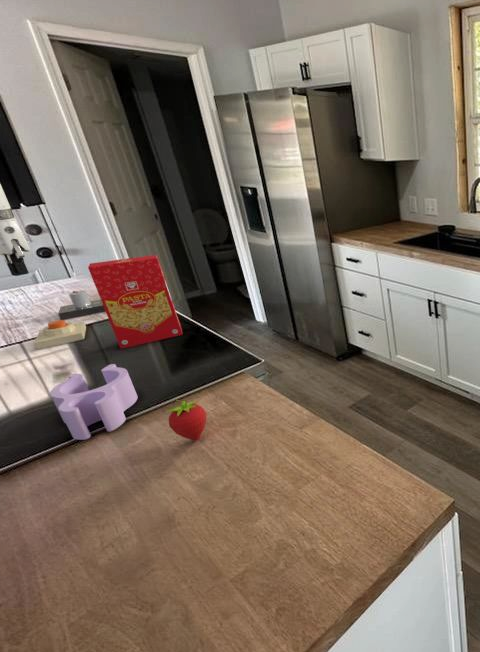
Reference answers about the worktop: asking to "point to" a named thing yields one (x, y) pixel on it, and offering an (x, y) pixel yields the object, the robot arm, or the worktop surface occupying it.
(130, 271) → the food packaging
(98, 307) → the hob panel
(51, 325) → the kettle button
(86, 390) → the clip
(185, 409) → the strawberry
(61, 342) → the cream flat block
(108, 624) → the worktop surface
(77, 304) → the hob dial
